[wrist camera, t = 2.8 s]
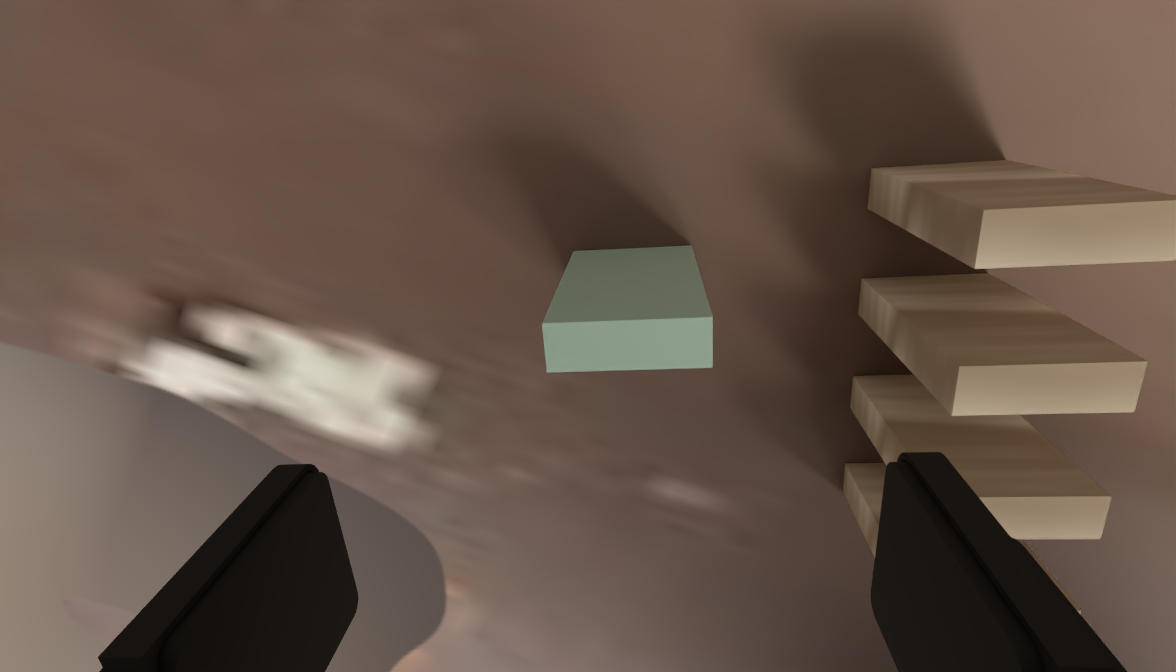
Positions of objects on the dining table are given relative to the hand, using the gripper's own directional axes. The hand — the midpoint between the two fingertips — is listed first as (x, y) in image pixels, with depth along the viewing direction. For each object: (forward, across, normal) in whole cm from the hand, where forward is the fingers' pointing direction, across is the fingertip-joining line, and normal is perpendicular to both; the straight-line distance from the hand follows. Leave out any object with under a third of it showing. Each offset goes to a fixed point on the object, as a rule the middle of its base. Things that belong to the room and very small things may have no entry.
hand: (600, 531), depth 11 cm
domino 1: (+18, 0, 0) cm, 18 cm away
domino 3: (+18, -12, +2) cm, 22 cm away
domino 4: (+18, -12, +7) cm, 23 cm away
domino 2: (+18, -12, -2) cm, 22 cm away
